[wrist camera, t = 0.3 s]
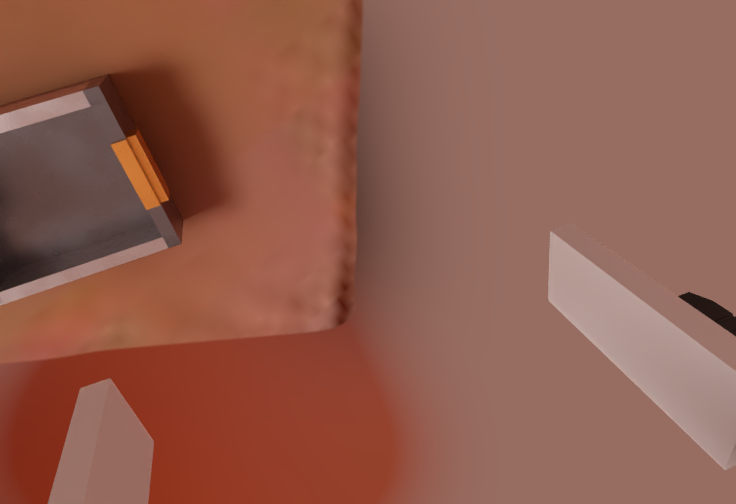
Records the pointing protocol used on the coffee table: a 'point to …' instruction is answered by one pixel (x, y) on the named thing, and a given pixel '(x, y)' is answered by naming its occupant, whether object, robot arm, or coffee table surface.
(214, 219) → the coffee table surface
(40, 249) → the rack
